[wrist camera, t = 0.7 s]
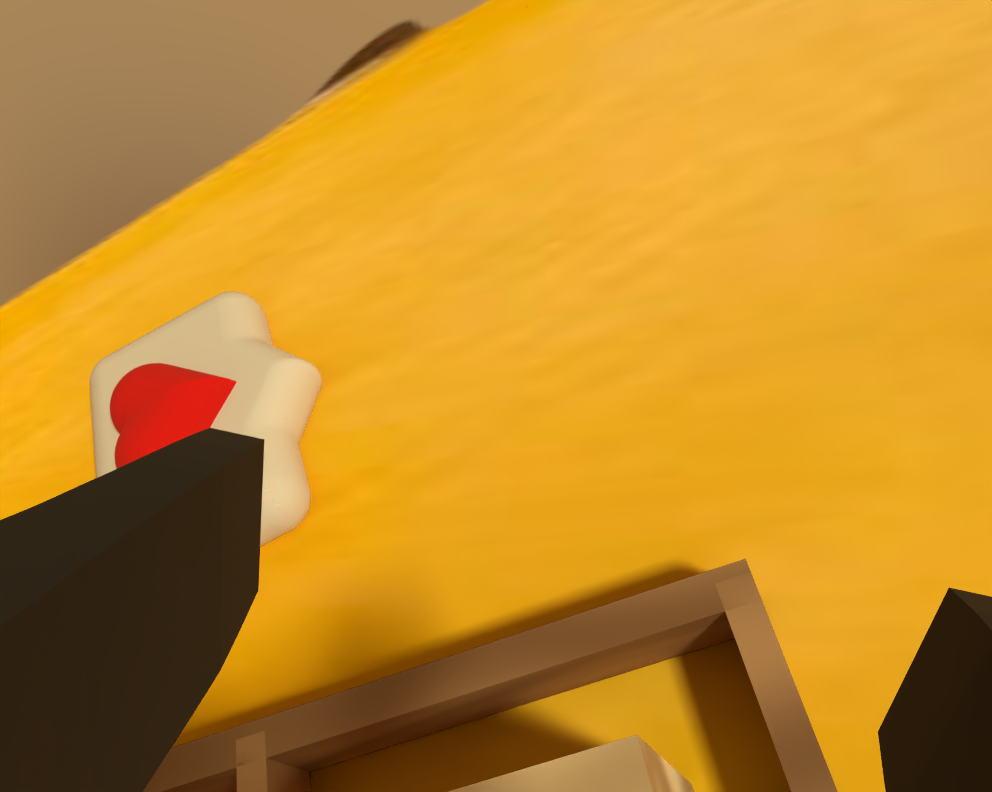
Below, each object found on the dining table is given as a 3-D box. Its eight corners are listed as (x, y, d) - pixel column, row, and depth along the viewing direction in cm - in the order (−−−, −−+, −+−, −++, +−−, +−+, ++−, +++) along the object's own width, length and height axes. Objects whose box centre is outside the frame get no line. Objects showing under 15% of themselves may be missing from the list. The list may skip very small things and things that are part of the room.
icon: (310, 453, 30) (58, 587, 30) (369, 506, 33) (141, 625, 34) (251, 227, 37) (49, 340, 38) (304, 290, 40) (118, 392, 41)
